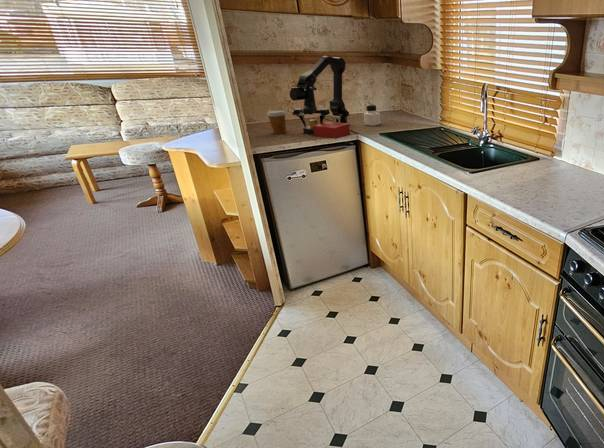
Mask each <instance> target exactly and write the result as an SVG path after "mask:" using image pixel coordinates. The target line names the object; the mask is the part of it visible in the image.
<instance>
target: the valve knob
mask: <svg viewBox="0 0 604 448" xmlns="http://www.w3.org/2000/svg"><path fill="white" fill-rule="evenodd" d="M308 123H309V126H310V128H313V125H317V124H319V121H318V119H317V118H313V119H308Z"/></svg>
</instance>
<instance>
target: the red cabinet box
mask: <svg viewBox="0 0 604 448" xmlns="http://www.w3.org/2000/svg"><path fill="white" fill-rule="evenodd" d="M313 132H314V135H313V136H314V137H320V138H330V139H338V138H342V137H344V136H347V135H350V134H351V129H350V125H348V126H344V127H341V128H337V129H326V128H317V127H313Z"/></svg>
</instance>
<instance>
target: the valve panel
mask: <svg viewBox="0 0 604 448" xmlns="http://www.w3.org/2000/svg"><path fill="white" fill-rule="evenodd" d="M302 130H303V134H304V135H313V136H314V132H313V128H310V125H308V126H306V127H303V128H302Z"/></svg>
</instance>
